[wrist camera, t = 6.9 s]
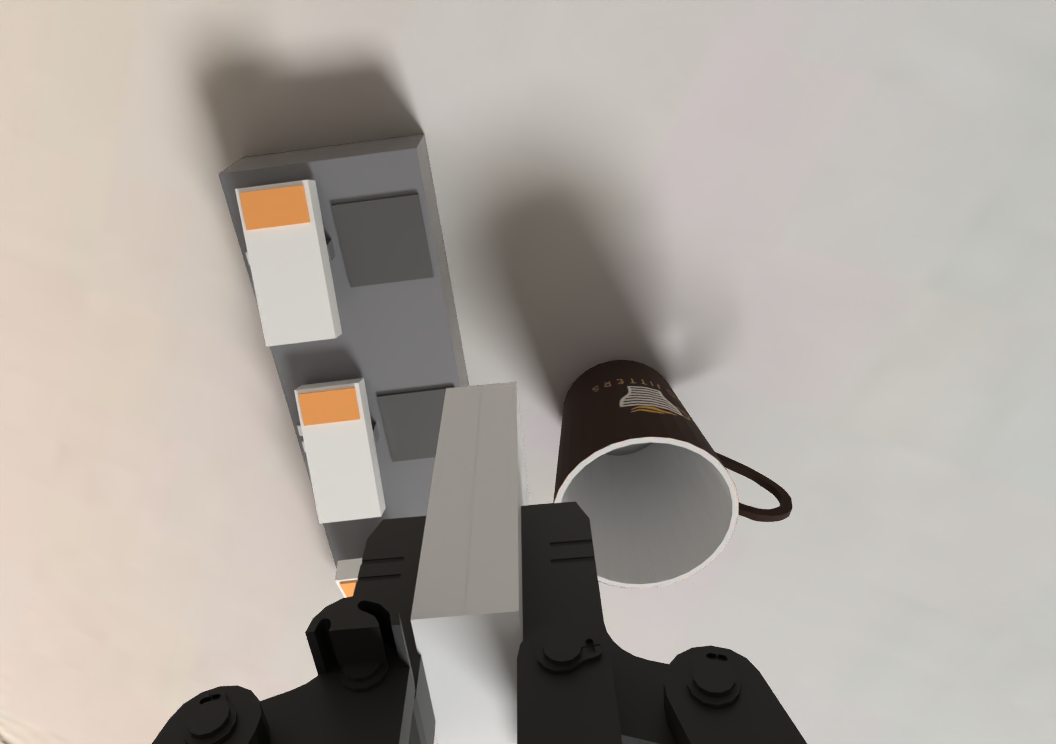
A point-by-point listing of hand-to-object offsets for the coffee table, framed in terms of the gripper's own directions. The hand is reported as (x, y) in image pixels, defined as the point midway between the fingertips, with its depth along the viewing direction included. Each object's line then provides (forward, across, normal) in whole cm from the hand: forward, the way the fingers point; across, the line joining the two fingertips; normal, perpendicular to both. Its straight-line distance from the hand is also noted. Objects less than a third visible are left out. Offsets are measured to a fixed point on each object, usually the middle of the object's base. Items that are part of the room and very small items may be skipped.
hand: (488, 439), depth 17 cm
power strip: (+24, -7, -16) cm, 30 cm away
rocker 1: (+19, -10, -2) cm, 22 cm away
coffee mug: (+25, +6, -15) cm, 30 cm away
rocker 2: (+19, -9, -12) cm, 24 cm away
